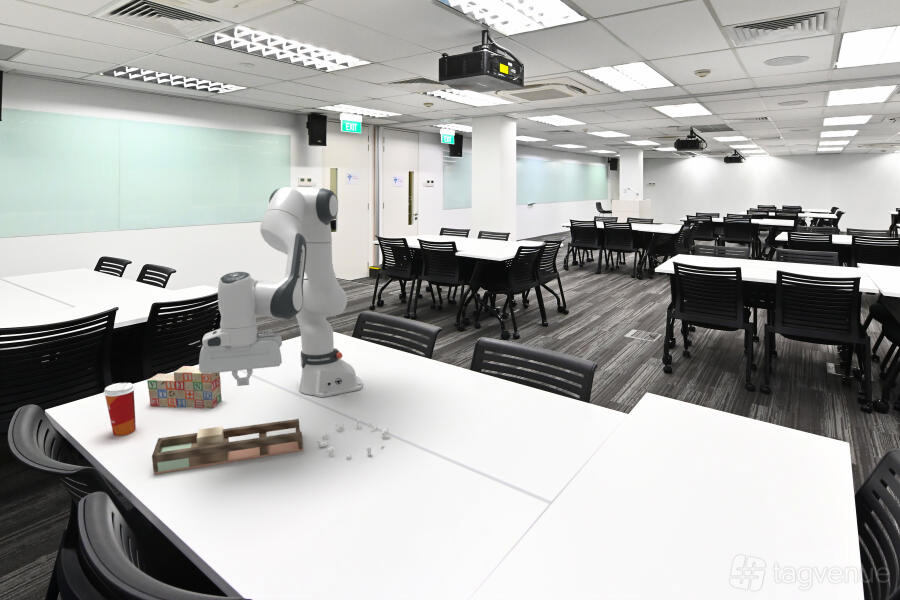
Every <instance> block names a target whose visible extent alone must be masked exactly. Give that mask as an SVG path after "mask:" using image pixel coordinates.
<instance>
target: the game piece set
mask: <svg viewBox="0 0 900 600" xmlns="http://www.w3.org/2000/svg"><path fill="white" fill-rule="evenodd" d="M356 423H357V424H356V425H355V426H353V428H354V430H355V431H361V430H362V425H360V424H359V423H360V419H359V418H357V419H356ZM368 424H369V425H370V426H371V427H372V429H371V432H372V433H375V432H376V431H377V430H378V427H377V426H374V425H372V424H371V421H370V422H368ZM334 425H335V426H337V427H338V428H337V427H335V431H337V433H338V432H341V431H343V430H344V429H345V427H344V425H345V423H343V424H341V425H339V424H338V423H334ZM387 434H389V429H387V428H384V429H382V431H381V434H380V437H382V439H384V440H385V439H386V436H387ZM328 439H329V433H328V431H325V433H323V434H322V440H328ZM322 440H321V439H319V440H317V441H316V443H318V446H320V448H323V447H326V446H327V445H328V444H329V443H328V442H326V441H322ZM384 448H385V445H384V444H383V445H382V444H381V445H380V449H384ZM334 450H335V447H333V446H330V447H329V448H327V449H326V452H327V453H328V454H326V456H327V457H328V458H330V457H333V456H334V454H333V453H334ZM365 450H366V451H367V456H368V457H370V456H372V447H371V446H370V445H367V446H366V448H365ZM345 458H346V460H351V459H352V455H351V454H350V452H348V454H347V455H346V456H345Z"/></svg>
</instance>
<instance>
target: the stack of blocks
mask: <svg viewBox="0 0 900 600" xmlns="http://www.w3.org/2000/svg"><path fill="white" fill-rule="evenodd" d="M221 381H222V380H221V372H218V373H209V374H202V373H201V372H200V371H199V365H198V366H195V365H193V366H189V365H187V366H186V365H183V366H182V367H180V368H178V369H177V370H175V371H173V374H172V373H157V374H156V375H154V376H152V377H151V378H148V379H147V380H146V382H147V389H148V396H149V405H150V406H151V407H161V406H166V407H167V406H168V408H190V407H192V408H193V409H195V408H196V409H215V407H217V405H219V404H220V403H221V402H223V401H222V400H223V399H222V386H221V384H222V383H221ZM192 408H191V409H192Z"/></svg>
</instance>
